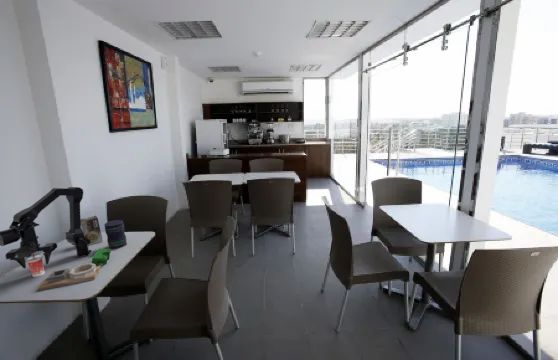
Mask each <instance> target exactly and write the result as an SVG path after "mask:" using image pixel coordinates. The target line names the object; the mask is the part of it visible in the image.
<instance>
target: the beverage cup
mask: <svg viewBox="0 0 558 360" xmlns="http://www.w3.org/2000/svg"><path fill="white" fill-rule="evenodd" d="M25 262H26V263H27V265H28V269H29V271H30V273H31V276H32V278H37V277H40V276H42V275H44V274H45V269H44V268H45V266H44V263H43V254H42V255H41V254H40V255H39V254H38V255H35V253H32V256H30V257H27V259H25Z"/></svg>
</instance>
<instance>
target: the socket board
mask: <svg viewBox="0 0 558 360" xmlns="http://www.w3.org/2000/svg"><path fill="white" fill-rule="evenodd" d="M101 269H102V264H98V265H96V264H93V263H92V262H87V263H82V264H79V265H77V266H75V267H72V268H71V270H70V268H63V269H58V270H54V271H52V272H51V273H50V274H48V276H46V278H45V279H44V281H42V283H41V284H40V285H39V286H38V287H37V290H38V291H44V290H49V289H54V288H59V287H64V286H69V285H70V286H71V285H73V284H79V283H84V282H88V281H92V280H96V278H97V277H98V274H99V273H100V271H101Z"/></svg>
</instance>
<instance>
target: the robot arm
mask: <svg viewBox="0 0 558 360" xmlns="http://www.w3.org/2000/svg"><path fill="white" fill-rule="evenodd" d="M61 196H63V197H64V196H65V199H66V200H67V202H68V204H69V205H68V206H69V230H68V231H66V232H65V240H66V241H67V242H68V243H69V244H70V245H72V246H74V247H75V251H76V255H75V256H74V258H80V257H81V258H82V257H86V256H87V257H88V256H89V255H90V254H91V252H92V250H91V249H89V246H88V244H90V240H89V239H87V238H85V236H84V232H83V231H82V229H81V219H82V218H81V202H82V200H83V198H84V190H83V189H82V188H81V187H80V186H79V187H78V186H69V187H67V188H63V187H60V188H58V187H54V188H52V189H51V190H49V191H48V192H47V193H46V194H45V195H43V196H42V197H41V198H40V199H38V200H37V201H36V202H34V203H33V204H32V205H31V206H29V207H27V208H24V209H22V210H20V211H18V212H17V213H15V214H14V215H13V217H12V218H13V220H12V222H11V224H10V226H9V227H8V229H4V230H0V247H5V246H7V245H10V244H13V243H16V242H19V240H20V242H19V247H18V248H12V249H10V250H9V251H8V252H6V253H5V255H4V256H5V257H4V258H5V259H6V260H10V261H15V262H17V263H18V264H19V265H20V266H21V267H22V268H23V269H24V270H25V269H26V268H27V264H26V263H27V262H26V259H25V258H31V257H32V256H33V254H32V253H34V254H35V253H37V252H43V253H42V256H44V261H45V264H46V265H49V264H50V263H49V262H50V258H51V255H52V253H53V252H54V251H55V250H56V249H57V248H58V243H56V242H47V243H46V244H45V245H43V246H41V243H39V241H38V239H39V236H38V235H37V233H36V229H35V228H36V227H38V226H40V224H39V223H37V222H35V220H36V219H37V218H38V217H39V214H40V213H41V212H42V211H43V210H45V209H46V208H47V207H48V206H49V205H50V204H51V203H53V202H54V201H55V200H56V199H58V198H59V197H61Z"/></svg>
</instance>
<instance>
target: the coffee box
mask: <svg viewBox="0 0 558 360" xmlns="http://www.w3.org/2000/svg"><path fill="white" fill-rule="evenodd" d="M100 226H101V225H100V222H99V218H98V217H97V215H94V216H89V217H85V218H81V229H82V231H83V232H84V236H85V238H87V239H89V240H90V244H88V247H89V246H92V245H95V244H98V243H102V242H103V241H104V240H103V236H102V231H101V227H100Z"/></svg>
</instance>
